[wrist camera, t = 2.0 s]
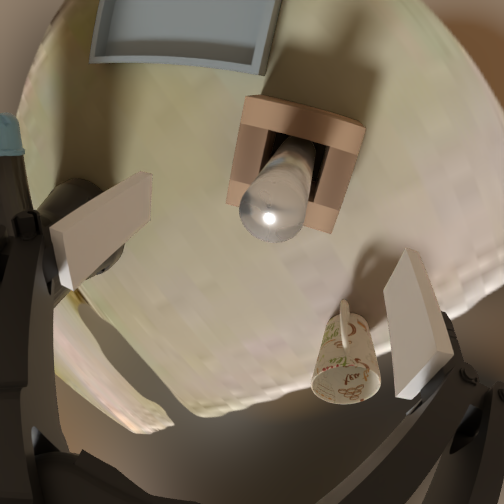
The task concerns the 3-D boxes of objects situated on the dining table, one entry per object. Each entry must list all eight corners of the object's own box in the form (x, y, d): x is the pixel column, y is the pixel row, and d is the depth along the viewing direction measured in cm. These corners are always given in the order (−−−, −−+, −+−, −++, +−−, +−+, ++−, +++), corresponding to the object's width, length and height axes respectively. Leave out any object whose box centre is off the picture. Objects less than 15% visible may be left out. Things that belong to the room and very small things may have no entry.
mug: (322, 350, 43) (316, 406, 35) (306, 284, 38) (297, 343, 29) (377, 344, 40) (380, 400, 32) (371, 274, 35) (380, 333, 26)
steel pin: (277, 163, 31) (234, 232, 17) (284, 131, 29) (245, 173, 15) (310, 173, 30) (295, 250, 17) (319, 140, 28) (313, 192, 15)
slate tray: (104, 62, 28) (88, 63, 25) (125, -35, 20) (110, -40, 18) (264, 76, 26) (258, 74, 24) (291, -40, 19) (287, -51, 16)
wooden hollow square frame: (242, 183, 33) (225, 203, 28) (260, 94, 27) (245, 96, 22) (330, 208, 32) (331, 234, 27) (358, 121, 26) (366, 128, 21)
